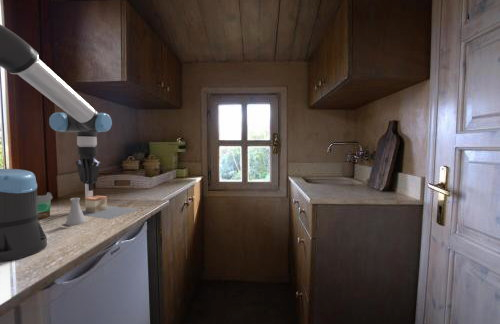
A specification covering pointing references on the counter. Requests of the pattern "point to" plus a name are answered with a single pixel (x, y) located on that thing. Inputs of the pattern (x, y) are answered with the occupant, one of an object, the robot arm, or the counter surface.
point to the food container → (44, 205)
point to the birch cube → (96, 203)
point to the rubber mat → (109, 212)
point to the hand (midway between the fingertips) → (89, 197)
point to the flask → (75, 213)
